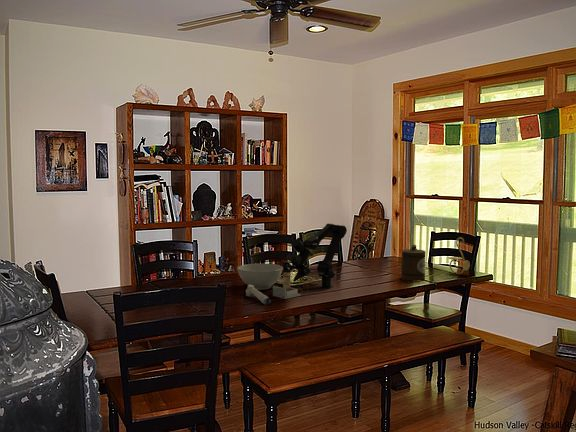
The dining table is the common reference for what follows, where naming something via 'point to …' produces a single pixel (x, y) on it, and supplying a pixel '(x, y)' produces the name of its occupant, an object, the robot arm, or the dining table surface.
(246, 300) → the dining table surface
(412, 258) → the wooden container
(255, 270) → the decorative bowl
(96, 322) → the dining table surface
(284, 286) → the cream cylinder
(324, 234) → the robot arm
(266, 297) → the grey pestle
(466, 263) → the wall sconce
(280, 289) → the grey rectangular box
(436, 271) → the dining table surface
